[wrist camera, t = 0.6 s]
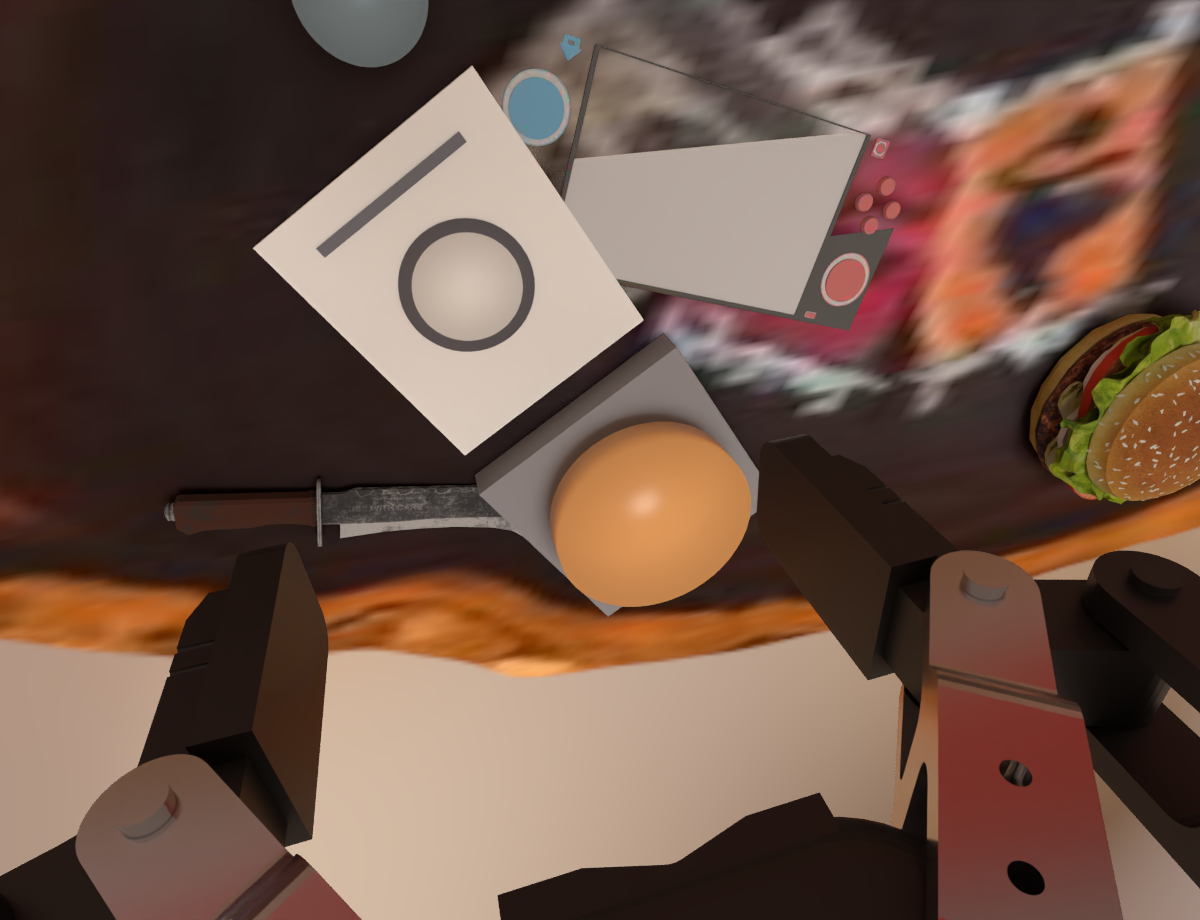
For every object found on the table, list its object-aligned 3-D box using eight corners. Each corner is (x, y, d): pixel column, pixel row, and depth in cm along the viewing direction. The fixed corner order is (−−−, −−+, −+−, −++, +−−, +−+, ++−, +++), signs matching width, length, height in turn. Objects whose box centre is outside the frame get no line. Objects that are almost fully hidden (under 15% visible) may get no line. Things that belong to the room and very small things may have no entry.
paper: (471, 65, 28) (472, 66, 28) (642, 318, 36) (644, 321, 36) (253, 246, 30) (252, 249, 29) (464, 452, 38) (465, 457, 37)
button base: (663, 333, 37) (676, 347, 35) (761, 480, 44) (776, 498, 43) (474, 475, 38) (479, 494, 37) (599, 595, 46) (608, 616, 44)
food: (1215, 353, 50) (1341, 401, 44) (1064, 496, 54) (1159, 560, 47) (1148, 244, 43) (1286, 281, 37) (980, 416, 47) (1078, 478, 40)
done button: (678, 381, 35) (693, 398, 33) (765, 509, 41) (781, 528, 40) (508, 507, 36) (515, 529, 35) (617, 612, 42) (627, 635, 41)
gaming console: (932, 151, 36) (851, 333, 40) (923, 149, 36) (844, 329, 41) (513, 11, 28) (470, 257, 32) (510, 11, 28) (468, 253, 33)
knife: (633, 530, 45) (649, 465, 43) (644, 549, 44) (661, 483, 41) (177, 554, 36) (164, 473, 34) (169, 579, 35) (156, 496, 32)
